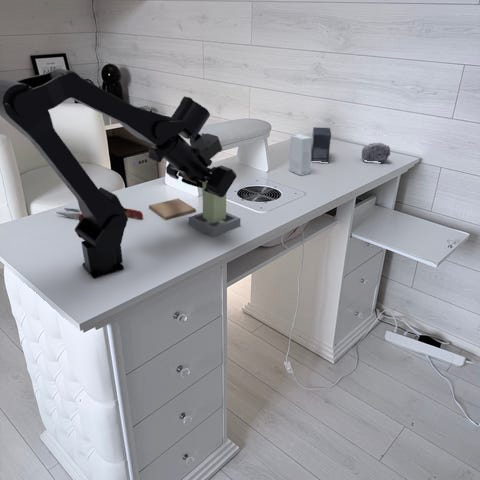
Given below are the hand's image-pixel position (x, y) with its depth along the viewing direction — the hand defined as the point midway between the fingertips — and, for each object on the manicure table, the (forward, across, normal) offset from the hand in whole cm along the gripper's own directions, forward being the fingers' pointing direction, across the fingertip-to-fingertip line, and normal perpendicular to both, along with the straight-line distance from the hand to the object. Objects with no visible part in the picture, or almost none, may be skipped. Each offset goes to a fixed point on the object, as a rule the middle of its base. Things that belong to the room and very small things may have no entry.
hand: (218, 191), depth 105 cm
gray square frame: (+5, 0, +7) cm, 9 cm away
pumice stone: (+62, +1, -49) cm, 79 cm away
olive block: (+4, 0, +6) cm, 7 cm away
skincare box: (+39, +11, -27) cm, 49 cm away
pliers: (-7, +22, +20) cm, 30 cm away
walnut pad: (+4, +14, +8) cm, 17 cm away
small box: (+52, +16, -40) cm, 67 cm away
